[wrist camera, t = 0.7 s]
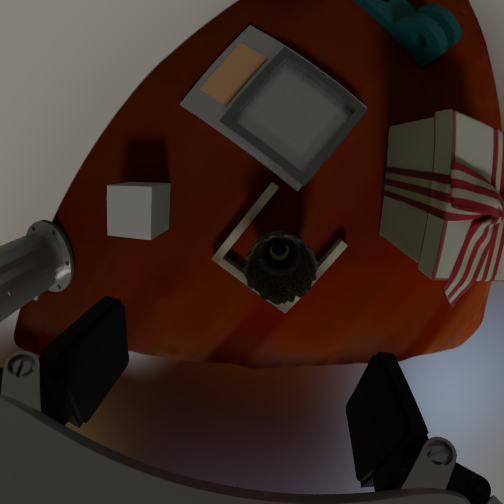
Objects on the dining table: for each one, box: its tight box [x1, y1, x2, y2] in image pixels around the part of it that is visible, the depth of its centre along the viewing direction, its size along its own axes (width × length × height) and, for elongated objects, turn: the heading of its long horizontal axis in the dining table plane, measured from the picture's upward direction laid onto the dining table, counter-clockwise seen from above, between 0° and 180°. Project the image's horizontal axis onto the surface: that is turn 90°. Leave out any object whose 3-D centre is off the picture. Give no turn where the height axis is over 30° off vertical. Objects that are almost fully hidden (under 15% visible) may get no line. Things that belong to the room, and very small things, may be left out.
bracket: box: [353, 0, 462, 68], centre depth 20 cm, size 18×7×8 cm, turn 44°
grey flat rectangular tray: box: [180, 25, 368, 191], centre depth 29 cm, size 14×18×3 cm
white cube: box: [107, 182, 171, 240], centre depth 32 cm, size 6×6×6 cm
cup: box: [244, 230, 318, 305], centre depth 32 cm, size 8×7×8 cm
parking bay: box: [212, 182, 348, 313], centre depth 35 cm, size 12×12×2 cm
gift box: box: [379, 109, 504, 308], centre depth 24 cm, size 17×18×17 cm
